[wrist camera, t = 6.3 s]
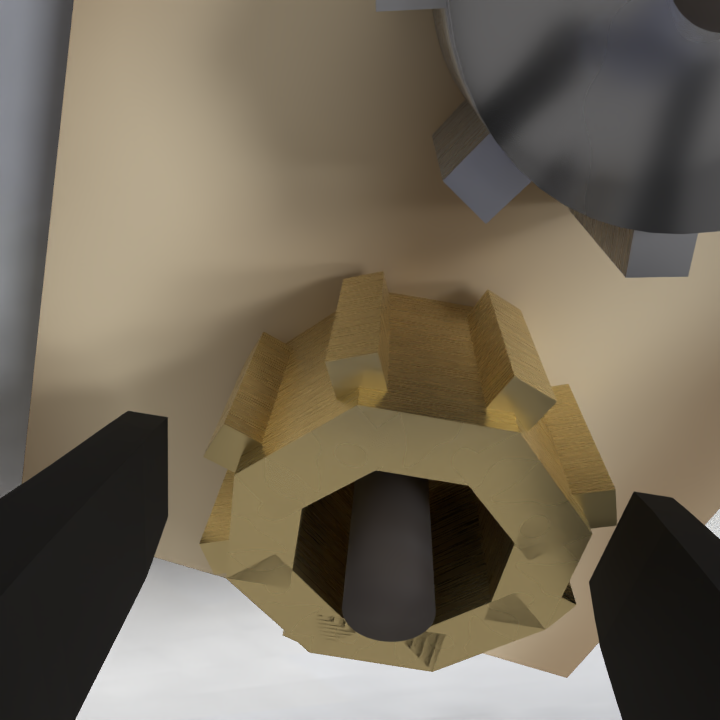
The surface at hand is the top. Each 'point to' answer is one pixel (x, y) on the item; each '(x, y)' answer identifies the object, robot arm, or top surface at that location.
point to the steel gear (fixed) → (586, 118)
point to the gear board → (332, 269)
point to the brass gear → (407, 471)
